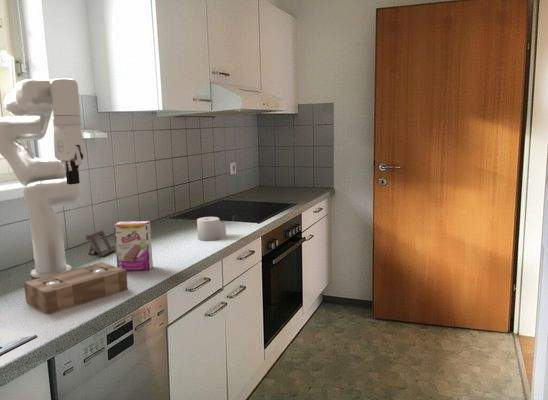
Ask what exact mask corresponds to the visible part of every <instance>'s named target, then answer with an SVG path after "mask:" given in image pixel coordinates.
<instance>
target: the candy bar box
mask: <svg viewBox="0 0 548 400" xmlns="http://www.w3.org/2000/svg"><path fill="white" fill-rule="evenodd" d="M113 226H114V241H115V252H116V254H115V255H116V267H118V268H121V269H124V270H126V272H132V271H134V272H135V271H150V270H151V269H152V268H153V265H154V263H153V251H152V233H151V222H150V220H149V221H148V220H147V221H143V220H141V221H117V222H116V223H114V225H113Z"/></svg>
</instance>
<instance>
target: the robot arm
mask: <svg viewBox="0 0 548 400" xmlns="http://www.w3.org/2000/svg"><path fill="white" fill-rule="evenodd" d="M3 105H4V108H5V110H6V111H7V112H8V113H10V115H13V116H5V117H3V116H2V117H0V155H1V156H2V157H3V158H4V159H5V160H6V162H7V163H8V165H9V166H10V168H11V170H12V171H13V174H14V175H15V177H16V178H17V180H18V181H19V182H20V184H21V185H22V186H24V189H23V198H24V202H25V205H26V208H27V212H28V218H29V224H30V233H31V234H30V235H31V241H32V242H31V243H32V250H33V259H34V269H32V270H30V276H31V277H33V278H34V279H38V278H42V277H46V276H50V275H54V274H58V273H61V272H65V271H69V270H72V266H71V265H70V264H67V262H66V253H65V242H64V232H63V223H62V222H63V221H62V219H61V217H60V216H59V215H58V213H56V212H55V211H54V210H53V209H56V208H61V207H67V206H72V205H75V204H77V203H79V202H80V199H81V197H82V191H81V188H80V171H79V170H80V166H81V165H82V164H83V162H82V161H83V160H84V158H85V146H84V139H83V132H82V128H81V127H82V126H83V125H82V116H81V108H80V107H81V106H80V93H79V85H78V82H77V81H76V80H75V79H73V78H53V79H39V78H38V79H36V78H35V79H32V78H30V79H24V80H21V81H18V82H17V83H16V84H15V85H14V88H13V90H12V91H11V92H9V93H8V94H7V95H6V96H5V98H4V100H3ZM51 117H52V121H53V128H54V130H53V147H54V149H53V150H54V157H45V158H44V157H43V158H42V157H37V156H36V155H35V154H34V152H33V150H32V149H31V148H29V147H28V146H27V145H25V144H23V143H21V142H23V141H25V142H26V141H28V142H29V141H38V140H41V139H44V137H45V135H46V134H47V130H48V127H49V124H50V120H51Z"/></svg>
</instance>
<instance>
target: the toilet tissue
mask: <svg viewBox="0 0 548 400" xmlns="http://www.w3.org/2000/svg"><path fill="white" fill-rule="evenodd" d="M196 224H197V225H196V226H197V228H196V229H197V240H198V241H200V242H215V241H219V240H223V239H225V238H227V237H228V236H227V229H226V224H225V223H223V222H221V220H220V218H219V217H217V216H204V217H199V218H196Z"/></svg>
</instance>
